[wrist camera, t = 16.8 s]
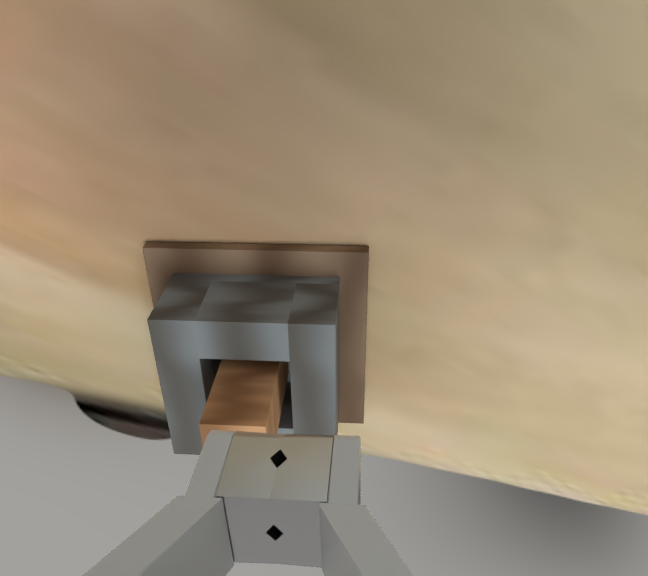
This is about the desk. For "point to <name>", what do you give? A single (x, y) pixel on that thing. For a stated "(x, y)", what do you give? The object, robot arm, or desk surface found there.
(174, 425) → the hole block
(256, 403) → the peg
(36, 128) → the desk surface
